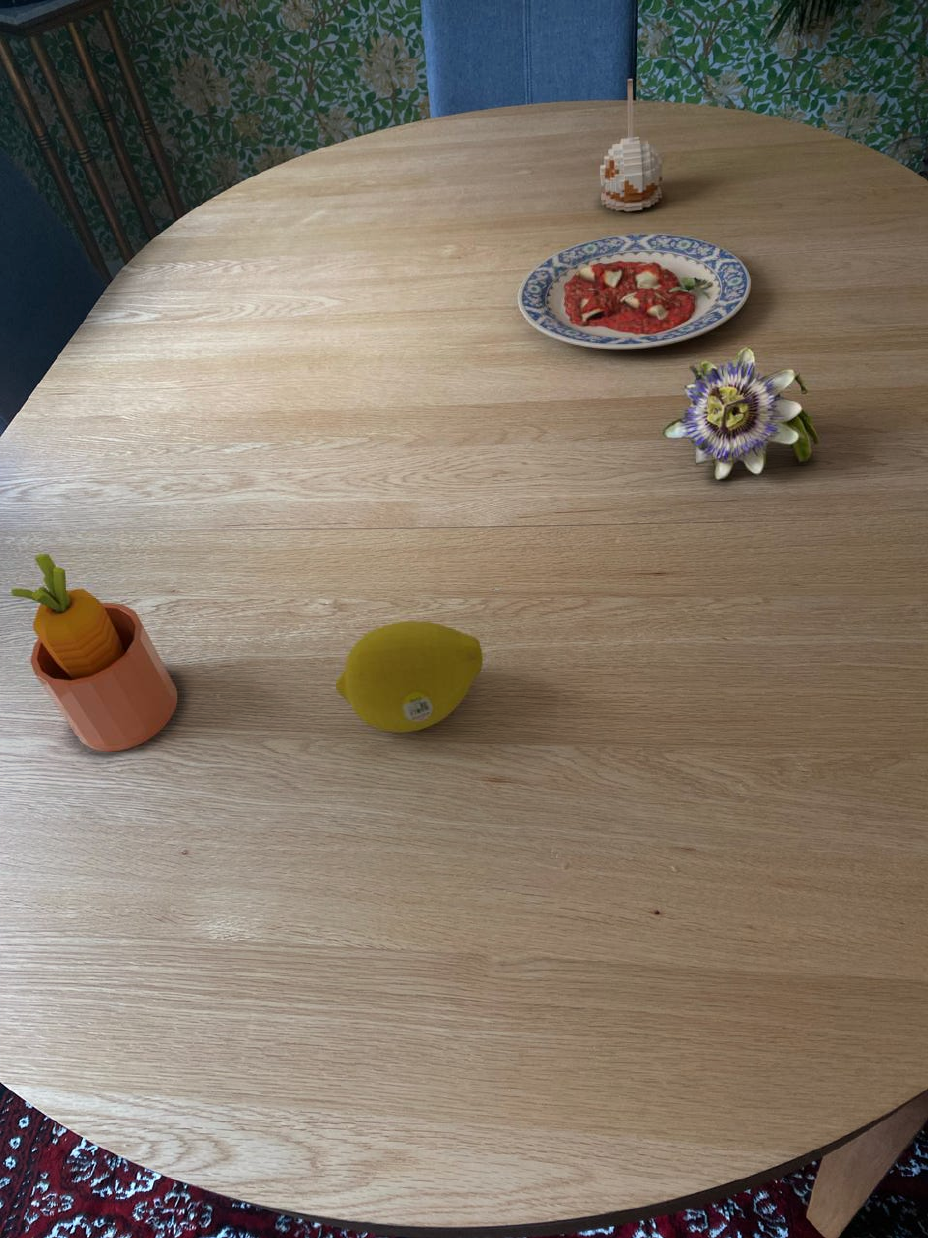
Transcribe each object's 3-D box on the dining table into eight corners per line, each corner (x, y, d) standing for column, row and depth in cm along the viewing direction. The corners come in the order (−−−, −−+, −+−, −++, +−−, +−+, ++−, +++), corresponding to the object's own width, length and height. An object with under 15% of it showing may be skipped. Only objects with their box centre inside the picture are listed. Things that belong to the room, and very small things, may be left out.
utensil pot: (69, 761, 75) (22, 694, 69) (82, 682, 81) (40, 614, 75) (174, 740, 75) (136, 672, 70) (180, 662, 81) (145, 593, 75)
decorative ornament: (599, 192, 133) (596, 73, 123) (657, 186, 132) (659, 64, 122) (603, 217, 128) (599, 94, 117) (664, 211, 127) (665, 86, 116)
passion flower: (720, 521, 92) (644, 443, 86) (735, 436, 98) (664, 357, 92) (832, 484, 84) (757, 395, 78) (842, 394, 90) (772, 304, 84)
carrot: (130, 736, 75) (46, 597, 64) (77, 724, 77) (-14, 587, 66) (164, 687, 78) (88, 547, 67) (112, 677, 80) (31, 538, 69)
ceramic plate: (493, 359, 107) (490, 334, 105) (548, 249, 124) (547, 225, 122) (735, 371, 100) (737, 345, 98) (760, 252, 116) (762, 227, 114)
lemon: (343, 758, 72) (318, 688, 66) (352, 677, 77) (329, 606, 72) (490, 746, 71) (477, 674, 65) (489, 665, 76) (476, 592, 71)
